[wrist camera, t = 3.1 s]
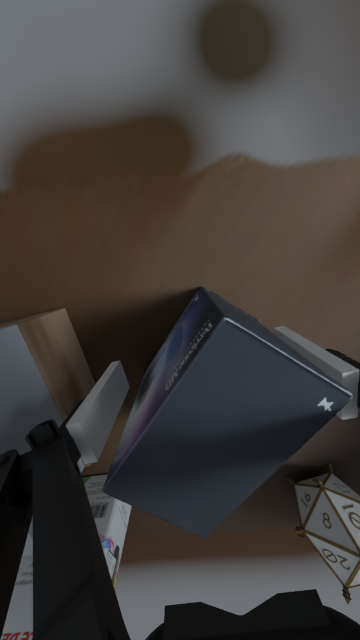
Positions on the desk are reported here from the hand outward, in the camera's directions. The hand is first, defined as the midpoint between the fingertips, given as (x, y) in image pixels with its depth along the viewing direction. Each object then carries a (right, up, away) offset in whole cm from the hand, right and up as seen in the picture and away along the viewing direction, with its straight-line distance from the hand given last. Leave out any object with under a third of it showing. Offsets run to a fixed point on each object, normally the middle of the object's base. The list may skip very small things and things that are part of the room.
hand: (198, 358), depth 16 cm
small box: (0, +1, +2) cm, 2 cm away
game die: (+14, -16, +7) cm, 22 cm away
